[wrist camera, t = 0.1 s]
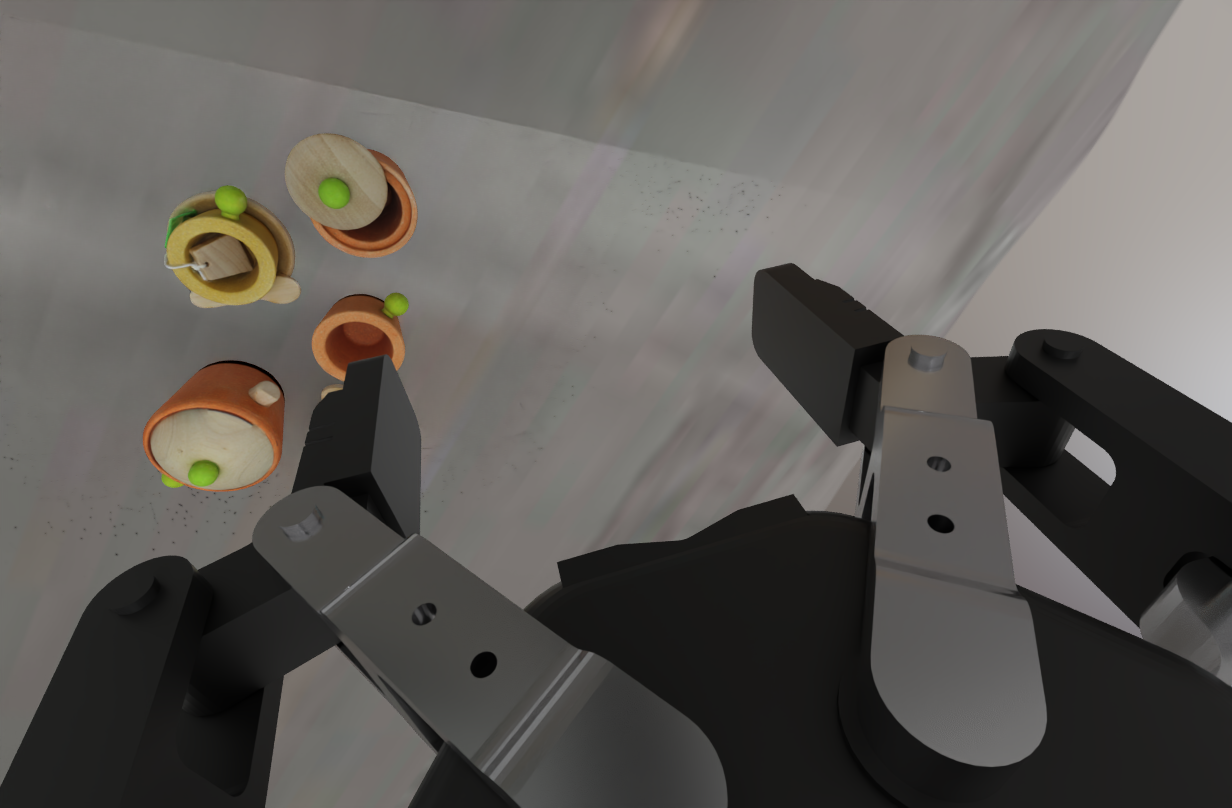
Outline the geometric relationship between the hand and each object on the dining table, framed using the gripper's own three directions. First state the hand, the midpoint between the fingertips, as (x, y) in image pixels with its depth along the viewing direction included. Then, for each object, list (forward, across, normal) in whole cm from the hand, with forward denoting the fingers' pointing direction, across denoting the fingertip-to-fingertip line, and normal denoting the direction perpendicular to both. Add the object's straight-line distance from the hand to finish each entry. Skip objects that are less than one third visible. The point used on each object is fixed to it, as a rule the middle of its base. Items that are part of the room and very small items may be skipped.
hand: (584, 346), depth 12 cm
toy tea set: (+29, +15, +10) cm, 34 cm away
